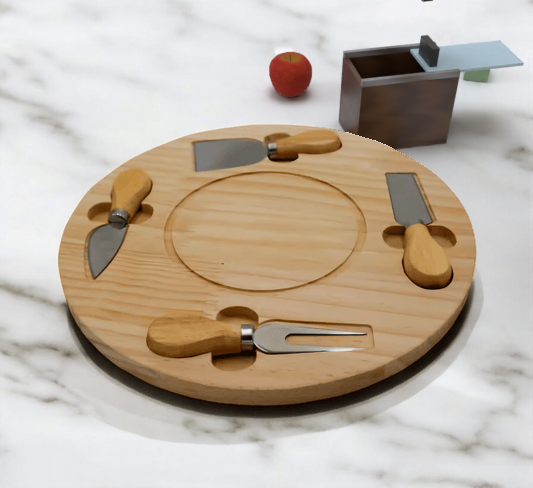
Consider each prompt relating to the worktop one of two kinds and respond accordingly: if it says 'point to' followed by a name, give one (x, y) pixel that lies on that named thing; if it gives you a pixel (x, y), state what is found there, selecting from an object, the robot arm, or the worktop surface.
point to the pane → (464, 56)
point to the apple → (290, 73)
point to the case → (395, 97)
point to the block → (477, 75)
